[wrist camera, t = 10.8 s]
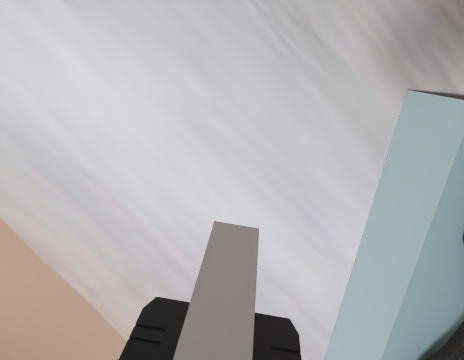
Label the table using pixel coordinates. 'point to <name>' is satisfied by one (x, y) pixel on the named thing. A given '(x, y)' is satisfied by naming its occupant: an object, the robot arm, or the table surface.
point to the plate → (410, 243)
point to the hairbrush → (452, 345)
